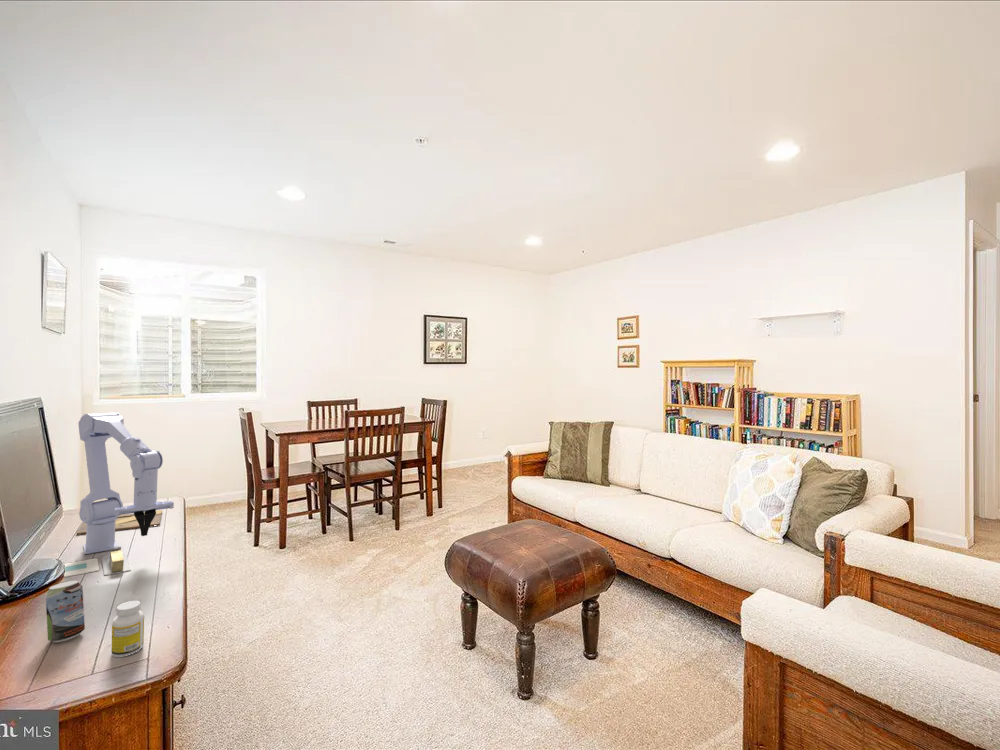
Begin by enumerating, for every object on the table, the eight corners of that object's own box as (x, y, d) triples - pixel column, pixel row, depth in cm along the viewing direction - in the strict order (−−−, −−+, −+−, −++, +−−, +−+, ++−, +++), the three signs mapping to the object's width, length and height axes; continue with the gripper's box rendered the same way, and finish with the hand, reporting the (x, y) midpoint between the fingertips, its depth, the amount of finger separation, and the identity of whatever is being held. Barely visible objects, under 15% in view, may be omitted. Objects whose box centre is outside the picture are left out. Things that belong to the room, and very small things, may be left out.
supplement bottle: (122, 643, 104) (124, 598, 104) (149, 643, 104) (150, 598, 104) (104, 658, 98) (106, 611, 98) (132, 658, 99) (133, 611, 99)
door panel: (64, 564, 142) (65, 551, 142) (126, 553, 152) (126, 541, 152) (63, 583, 130) (64, 569, 130) (130, 570, 140) (131, 557, 140)
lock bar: (110, 561, 144) (110, 552, 144) (120, 560, 145) (121, 550, 145) (112, 572, 137) (112, 561, 137) (123, 570, 138) (123, 559, 138)
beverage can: (62, 648, 101) (64, 592, 101) (35, 643, 103) (37, 587, 103) (92, 632, 107) (94, 579, 107) (66, 628, 109) (68, 575, 109)
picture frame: (162, 514, 194) (85, 522, 181) (162, 509, 194) (86, 517, 181) (159, 527, 179) (76, 537, 166) (159, 522, 179) (76, 532, 166)
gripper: (116, 497, 139) (114, 543, 139) (175, 490, 149) (174, 533, 149) (114, 492, 145) (113, 536, 145) (172, 485, 154) (170, 527, 154)
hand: (144, 534), depth 147 cm, fingers closed
